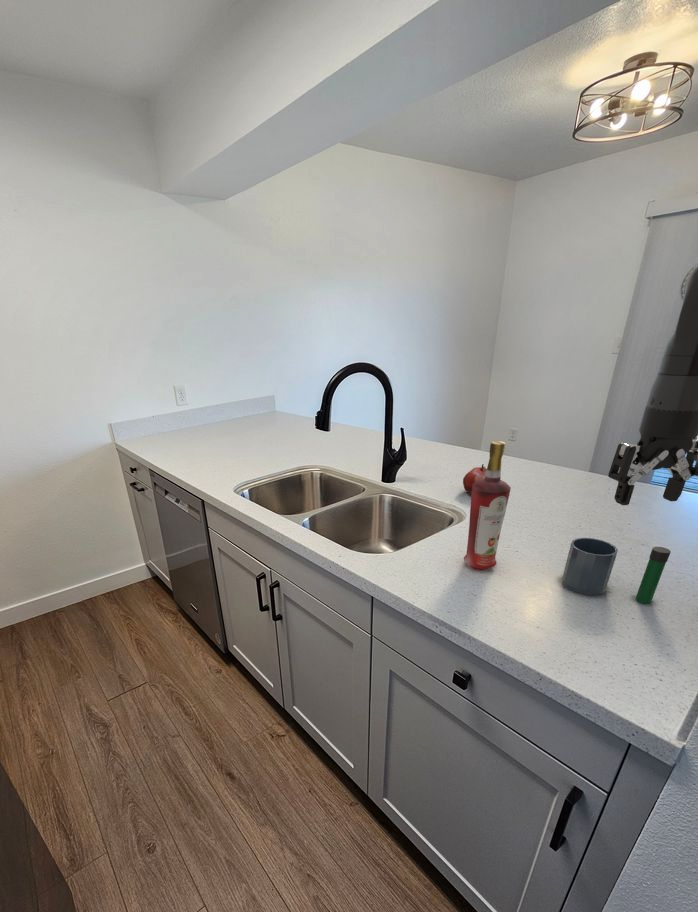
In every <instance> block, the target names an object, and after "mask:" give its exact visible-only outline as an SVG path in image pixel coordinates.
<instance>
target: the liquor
mask: <svg viewBox="0 0 698 912" xmlns="http://www.w3.org/2000/svg"><path fill="white" fill-rule="evenodd" d="M489 446H490V447H489V458H488V462H487V466H486V469H487V471H486V475H485V479H481V480H479V481H477V482H475V483H474V484H473V485H472V493H471V498H470V506H469V522H468V523H469V524H468V534H467V545H466V553H465V555H464V557H463V561H464V563H465V564H467V566H468V567H469V568H471V569H473V570H476V571H487V570H489V569H492V568H493V567H495V566H496V565H497V564H498V563H497V558H496V557H497V550H498V545H499V541H500V536H501V532H502V528H503V523H504V520H505V516H506V511H507V507H508V504H509V503H508V502H509V497H510V493H511V489H512V487H511V486H510V485H509V484H508V483H507V482H506V481H505V480H502V479H501V477H502V460H503V459H502V458H503V456H504V454H505V448H506V442H505V441H500V440H493V441H491V442H490V445H489Z"/></svg>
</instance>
